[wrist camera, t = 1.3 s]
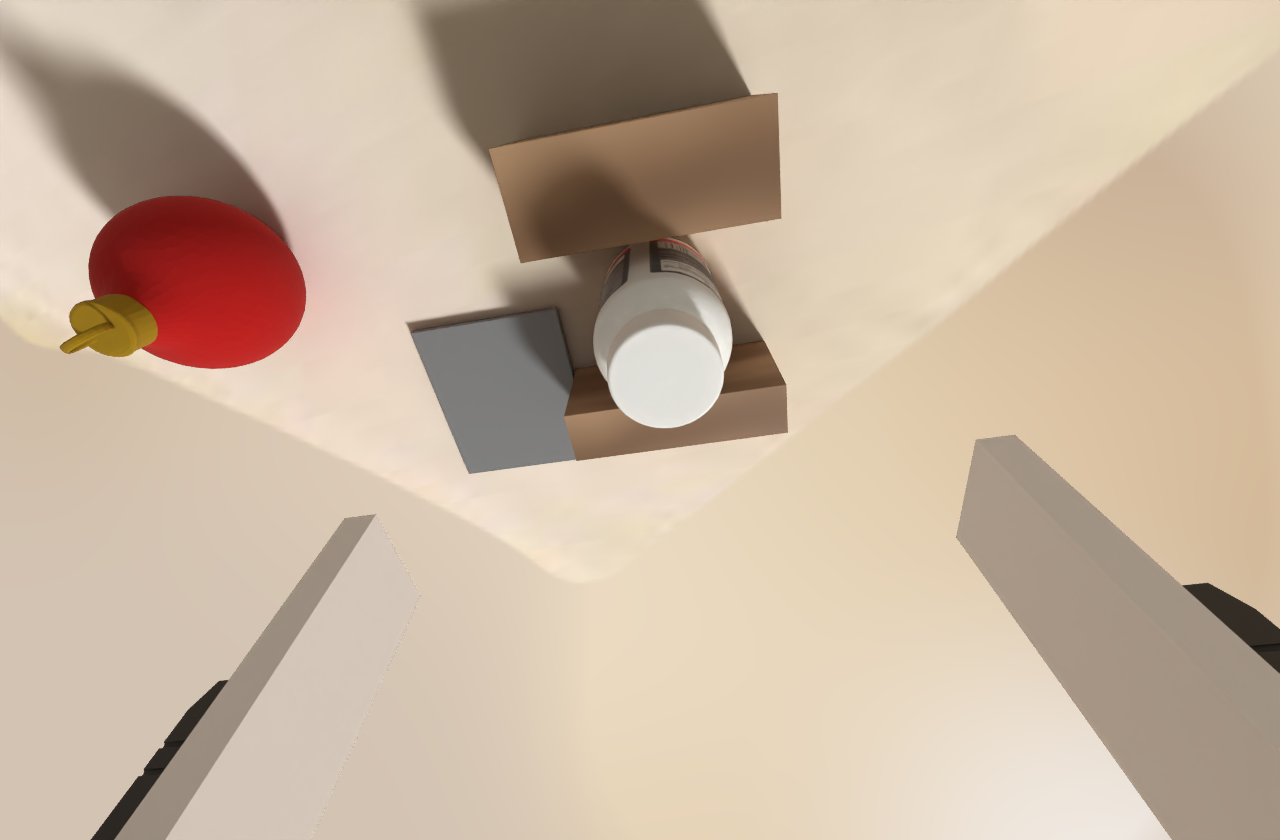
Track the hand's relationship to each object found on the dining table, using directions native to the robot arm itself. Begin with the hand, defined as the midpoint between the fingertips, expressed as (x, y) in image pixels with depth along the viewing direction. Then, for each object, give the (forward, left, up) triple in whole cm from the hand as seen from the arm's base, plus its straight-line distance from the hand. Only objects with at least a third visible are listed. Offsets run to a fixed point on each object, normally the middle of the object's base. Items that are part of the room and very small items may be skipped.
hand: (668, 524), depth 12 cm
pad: (+4, -9, -17) cm, 19 cm away
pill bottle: (0, 0, -17) cm, 17 cm away
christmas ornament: (-5, -19, -17) cm, 26 cm away
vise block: (0, 0, -17) cm, 17 cm away
